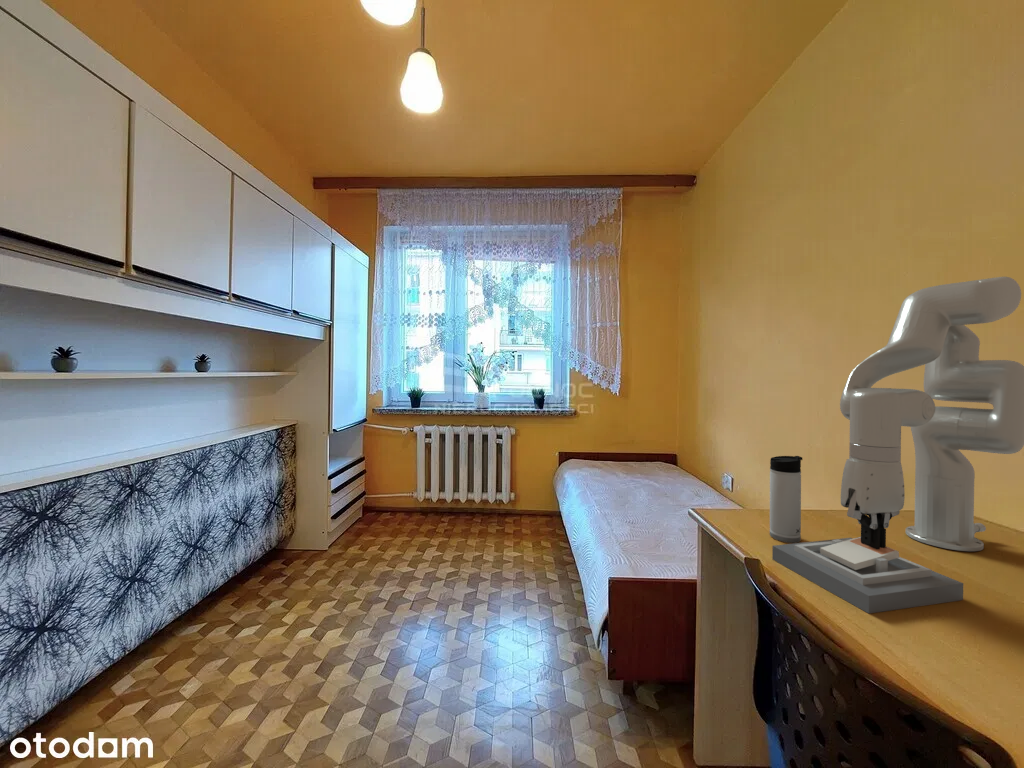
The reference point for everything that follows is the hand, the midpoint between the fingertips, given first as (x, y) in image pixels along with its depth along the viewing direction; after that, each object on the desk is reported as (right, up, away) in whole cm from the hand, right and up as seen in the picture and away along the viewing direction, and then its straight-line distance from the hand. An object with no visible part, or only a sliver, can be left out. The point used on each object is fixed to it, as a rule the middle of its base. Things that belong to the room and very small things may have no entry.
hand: (872, 545), depth 80 cm
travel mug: (-5, -6, +19) cm, 20 cm away
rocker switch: (-3, -1, 0) cm, 4 cm away
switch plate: (-3, -6, 0) cm, 7 cm away
